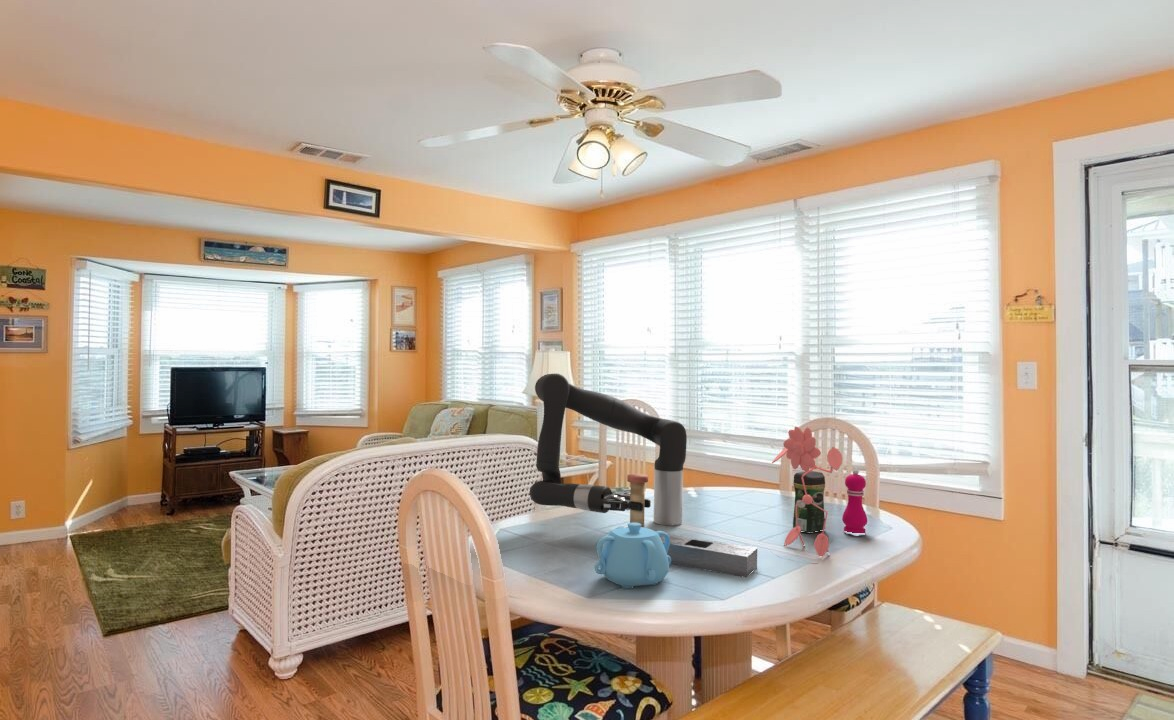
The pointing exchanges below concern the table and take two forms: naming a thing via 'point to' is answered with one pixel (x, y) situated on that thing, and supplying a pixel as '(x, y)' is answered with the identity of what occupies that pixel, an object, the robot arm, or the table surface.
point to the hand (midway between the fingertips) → (646, 505)
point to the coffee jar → (809, 514)
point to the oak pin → (637, 496)
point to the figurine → (804, 454)
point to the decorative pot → (633, 556)
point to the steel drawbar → (712, 555)
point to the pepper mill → (855, 504)
